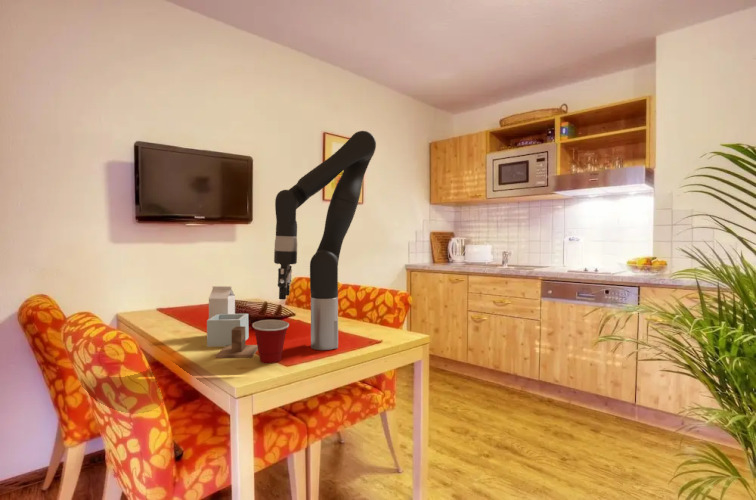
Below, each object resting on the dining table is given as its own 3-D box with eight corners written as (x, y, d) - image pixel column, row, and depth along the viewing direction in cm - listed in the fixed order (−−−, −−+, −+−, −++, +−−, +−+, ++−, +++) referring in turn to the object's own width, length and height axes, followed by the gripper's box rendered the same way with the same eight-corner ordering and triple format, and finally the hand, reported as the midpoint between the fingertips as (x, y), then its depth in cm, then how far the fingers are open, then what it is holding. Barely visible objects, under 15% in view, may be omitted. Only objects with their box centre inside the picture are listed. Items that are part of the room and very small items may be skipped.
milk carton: (228, 338, 146) (227, 287, 145) (209, 338, 146) (208, 287, 146) (235, 334, 153) (234, 285, 153) (217, 334, 153) (216, 285, 153)
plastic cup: (265, 371, 112) (265, 328, 111) (245, 363, 119) (244, 323, 118) (296, 361, 120) (296, 322, 120) (275, 354, 127) (275, 317, 127)
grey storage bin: (248, 339, 146) (248, 313, 145) (240, 347, 135) (240, 320, 134) (217, 339, 145) (217, 313, 145) (207, 348, 134) (206, 320, 134)
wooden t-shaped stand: (260, 347, 133) (259, 324, 133) (252, 357, 122) (251, 332, 122) (226, 347, 132) (226, 324, 132) (215, 357, 122) (215, 332, 121)
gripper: (294, 250, 127) (292, 301, 128) (299, 249, 141) (297, 294, 142) (270, 250, 127) (269, 300, 127) (277, 248, 141) (276, 293, 141)
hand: (284, 297), depth 135 cm, fingers open, 8 cm apart
